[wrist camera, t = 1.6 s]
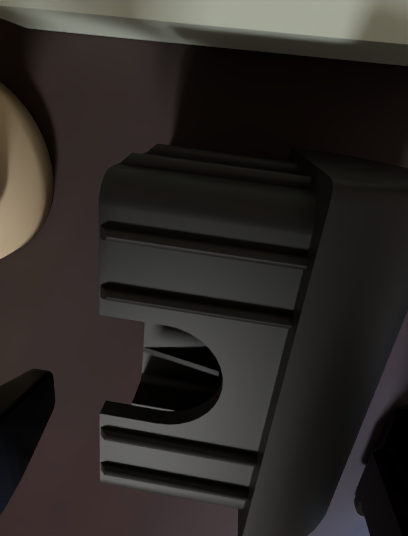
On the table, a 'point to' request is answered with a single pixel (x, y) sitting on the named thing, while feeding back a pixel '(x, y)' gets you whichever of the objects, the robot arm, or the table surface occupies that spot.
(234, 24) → the tray
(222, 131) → the table surface
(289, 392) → the end cap
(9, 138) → the bobbin
